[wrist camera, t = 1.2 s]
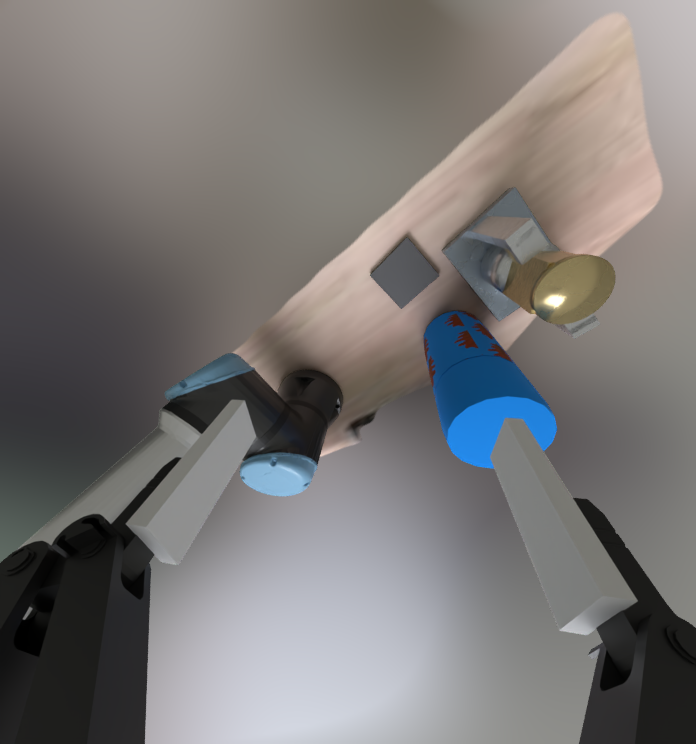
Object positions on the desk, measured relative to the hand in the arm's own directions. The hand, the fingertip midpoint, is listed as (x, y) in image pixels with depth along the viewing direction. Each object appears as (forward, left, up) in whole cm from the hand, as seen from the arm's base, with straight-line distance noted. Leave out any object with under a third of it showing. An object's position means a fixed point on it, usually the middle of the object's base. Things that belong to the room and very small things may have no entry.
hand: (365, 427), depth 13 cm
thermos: (+2, -17, -37) cm, 40 cm away
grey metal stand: (+15, -11, -36) cm, 41 cm away
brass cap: (+15, -11, -26) cm, 32 cm away
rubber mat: (+3, -2, -36) cm, 37 cm away
